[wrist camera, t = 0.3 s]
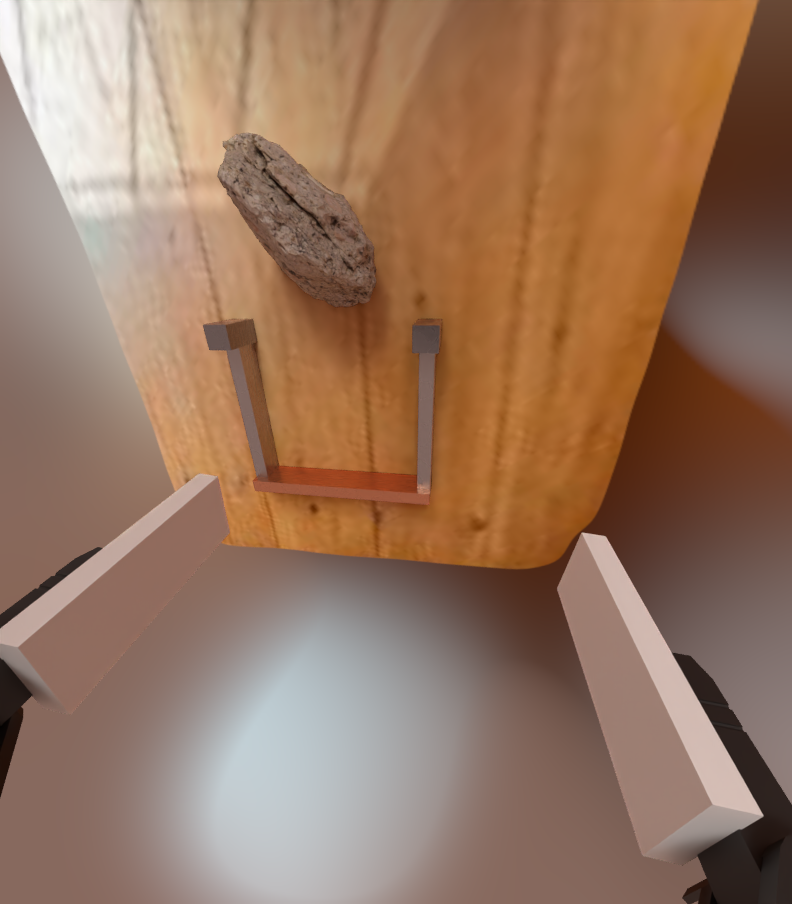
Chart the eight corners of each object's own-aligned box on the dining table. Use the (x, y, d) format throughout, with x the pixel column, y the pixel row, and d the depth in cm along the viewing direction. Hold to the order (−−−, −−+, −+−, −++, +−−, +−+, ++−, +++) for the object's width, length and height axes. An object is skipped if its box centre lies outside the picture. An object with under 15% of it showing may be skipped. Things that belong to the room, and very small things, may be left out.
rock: (419, 234, 26) (360, 325, 27) (391, 260, 35) (348, 326, 36) (247, 66, 20) (182, 187, 22) (268, 150, 30) (222, 231, 31)
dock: (232, 318, 37) (202, 324, 33) (441, 318, 34) (440, 325, 29) (267, 474, 46) (247, 495, 42) (434, 486, 43) (432, 510, 39)
